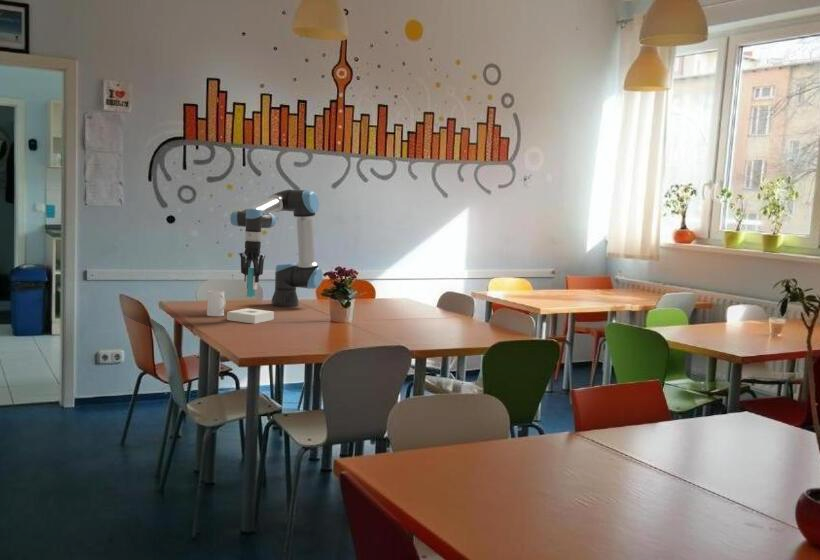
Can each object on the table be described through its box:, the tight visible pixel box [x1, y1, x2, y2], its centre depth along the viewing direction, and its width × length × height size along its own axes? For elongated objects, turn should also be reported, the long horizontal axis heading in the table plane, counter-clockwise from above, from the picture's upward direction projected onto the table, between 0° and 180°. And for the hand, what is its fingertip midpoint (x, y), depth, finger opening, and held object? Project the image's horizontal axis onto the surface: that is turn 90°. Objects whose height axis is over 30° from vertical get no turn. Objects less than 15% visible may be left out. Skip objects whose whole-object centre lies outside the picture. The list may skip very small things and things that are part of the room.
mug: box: [206, 289, 227, 317], centre depth 403 cm, size 12×8×12 cm
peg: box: [246, 266, 256, 298], centre depth 393 cm, size 4×4×14 cm
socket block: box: [226, 307, 275, 324], centre depth 395 cm, size 16×16×4 cm
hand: (251, 288), depth 393 cm, fingers closed on peg, 3 cm apart
